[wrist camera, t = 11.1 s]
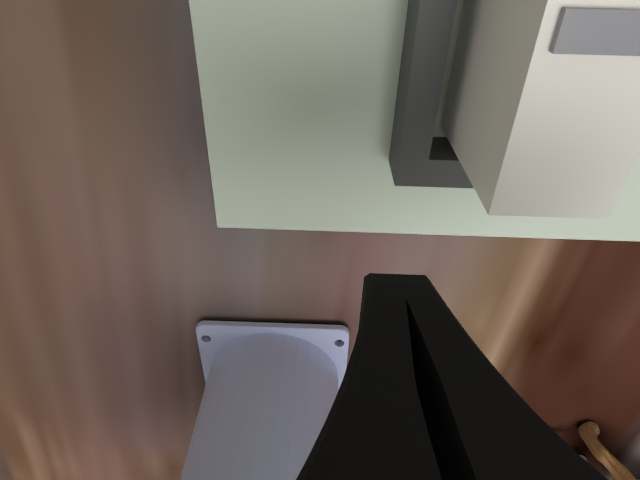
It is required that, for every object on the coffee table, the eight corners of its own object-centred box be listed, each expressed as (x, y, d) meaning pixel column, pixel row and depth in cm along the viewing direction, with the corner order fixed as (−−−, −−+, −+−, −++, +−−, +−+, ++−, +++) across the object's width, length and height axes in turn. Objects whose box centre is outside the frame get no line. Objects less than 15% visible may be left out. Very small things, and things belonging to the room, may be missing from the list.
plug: (524, 128, 16) (612, 222, 11) (441, 126, 16) (490, 219, 11) (572, -34, 13) (719, -6, 8) (470, -37, 13) (555, -10, 8)
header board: (677, 227, 20) (729, 273, 17) (223, 212, 20) (206, 256, 17) (966, -274, 11) (1158, -333, 9) (164, -299, 11) (114, -366, 9)
